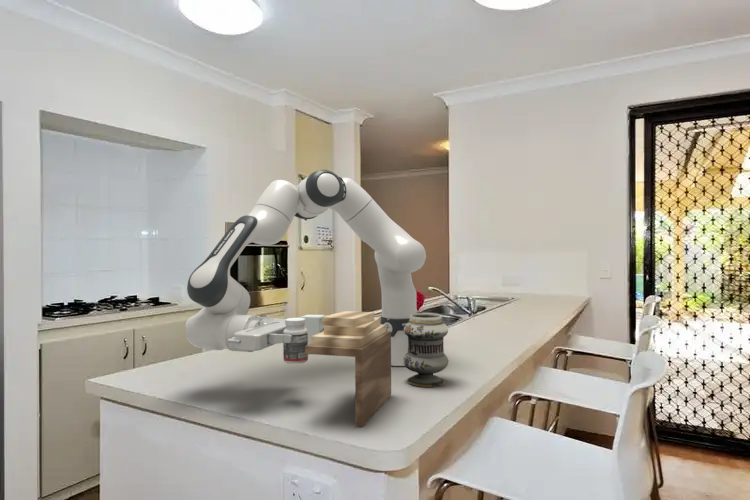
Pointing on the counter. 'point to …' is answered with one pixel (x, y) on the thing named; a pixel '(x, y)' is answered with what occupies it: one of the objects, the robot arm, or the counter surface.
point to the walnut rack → (366, 373)
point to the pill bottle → (295, 341)
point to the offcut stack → (349, 329)
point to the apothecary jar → (425, 349)
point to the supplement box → (313, 325)
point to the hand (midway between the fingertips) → (298, 335)
